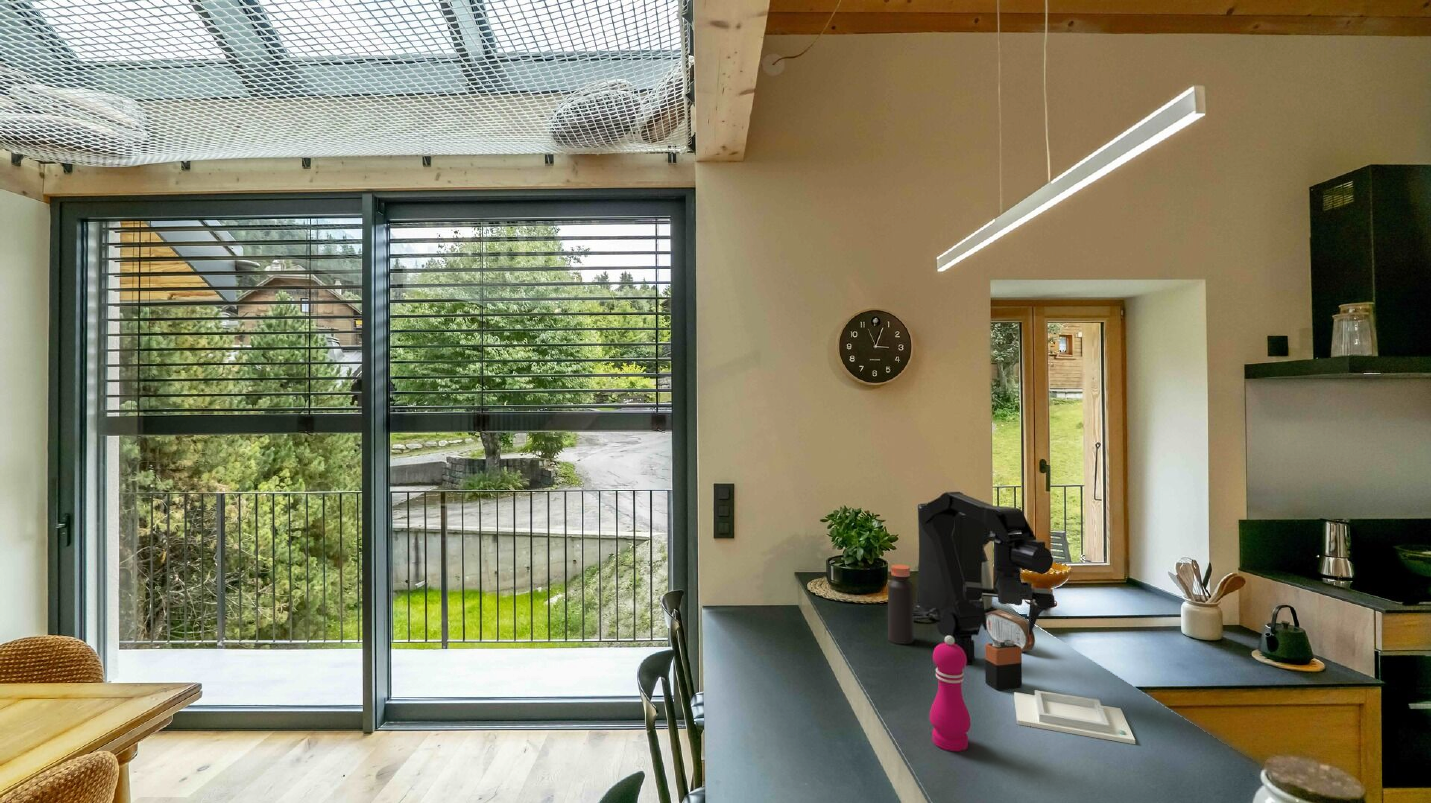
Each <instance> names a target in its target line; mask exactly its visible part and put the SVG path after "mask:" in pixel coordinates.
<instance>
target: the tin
mask: <svg viewBox="0 0 1431 803" xmlns="http://www.w3.org/2000/svg"><path fill="white" fill-rule="evenodd" d="M986 624H987V630H986V632H987V634H988V636H989V637H990V638H991V639H992V640H993V642H1004V640H1006V639H1009V640H1013V641H1014V643H1013V644H1015V645H1017V646H1019V647H1021V649H1022V652H1028V651H1031V650H1032V649H1033V648H1034V647H1035V643H1036V637H1035V633H1034V629H1033V630H1032V633H1031V635H1029V634H1028V621H1026V620H1025V619H1023V618H1021V617H1019V616H1016V615H1014V614H1011V613H1008V612H1006V611H1004V610H1001V609H998V610H996V611H992V612H989V613H988V614H987V615H986Z"/></svg>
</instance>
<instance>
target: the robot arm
mask: <svg viewBox="0 0 1431 803" xmlns="http://www.w3.org/2000/svg"><path fill="white" fill-rule="evenodd" d="M927 503H928V502H927ZM960 512H961V513H963V514H966V515H968V516H970V517H973V518H975V519H978V520H980V521H982V522H983V523H984V526H985V527H986V528H987V529H989V530H990V531H992V534H991V535H989V536H988V537H987V540H989V541H990V542H993V543H992V544H993V553H992V554H993V587H992V588H982V586H981V583H974V582H965V583H964V579H963V575H962V572H961V568H960V564H959V561H958V557H957V553H956V550H955V546H954V542H953V539H952V534H953V531H954V527H955V522H954V518H955V517H956V516H958V515H959V513H960ZM919 519H920V522H921V524H922V527H923V530H924V531H925V532H926V534H927V535H928V536H929V537H930V538H931V539H932V541H933V544H934V548H935V551H936V555H937V559H938V563H939V567H940V571H941V574H942V578H943V582H944V586H945V590H946V594H947V598H946V602H945V605H944V613H945V617H944V618H943V619H942V620H941V621H939V622H938V623H937V624H936V625H937V630H938V631H937V632H938V633H939V634H941V635H942V636H944V638H945V637H946V636H952V637H953V638H954V641H955V642H954V644H956V645H958V646H959V647H961V648H962V649H963V651H964V652H965V654H966V658H967V664H966V665H973V661H974V660H975V653H976V652H975V640H974V639H973V636H979V634H980V630H981V627H982V625H983V629H984V630H985V631H987V624H986V617H985V610H984V602H983V596H988V597H992V598H997V601H998V603H999V604H1001V605H1014V606H1022V605H1023V601H1030V602H1029V612H1028V621H1027V623H1028V634H1029V635H1031V633H1032V630H1033V631H1034V627H1035V625H1036V623H1037V620H1038V618H1039V616H1040V614H1041V613H1042V612H1043V611H1048V610H1049V608H1055V607H1056V604H1055V602H1056V601H1055V600H1056V599H1055V595H1054V594H1053V592H1052V591H1051V590H1050V589H1049V588H1042V587H1041V588H1040V587H1033V585H1032V582H1028V581H1022V569H1023V570H1025V571H1030V572H1033V573H1035V574H1036V573H1037V574H1039V575H1045V574H1047V573H1048V572H1049V571H1051V569H1052V567H1053V564H1054V557H1053V555H1052V552H1051V551H1050V550H1049V548H1047V547H1046V542H1045V541H1044V540H1043V541H1042V540H1036V539H1037V537H1036V536H1035V534H1034V531H1033V530H1032V528H1031V526H1030V524H1029V522H1028V520H1027V518H1026V516H1025V515H1024V511H1022V509H1020V508H1018V507H1011V506H1003V505H1002V506H1001V505H1000V506H999V505H992V504H990V503H988V502H984V501H982V500H980V499H977V498H975V497H971V496H969V495H966V494H964V493H963V492H960V491H946V492H944V493H942V494H941V495H940V496H939V497H937V498H935V499H933V500H932V501H930V503H928V504H927V505H925V506H923V507H922V509H921V511H920V512H919Z"/></svg>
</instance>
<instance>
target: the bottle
mask: <svg viewBox="0 0 1431 803" xmlns="http://www.w3.org/2000/svg"><path fill="white" fill-rule="evenodd" d="M890 568H891V570H890V571H891V572H890V573H891V574H890V575H891V577H892V580H890V581H889V582H888V584H887V639H888V641H889V642H890V643H893V644H897V645H911V644H912V643H914V641H915V639H914V638H915V637H914V636H915V628H914V627H915V624H914V622H915V619H914V616H915V615H914V612H915V610H914V608H915V606H914V602H915V599H914V597H915V596H914V595H915V594H914V593H915V592H914V590H915V589H914V585H913V584H912V582H911V581H910V578H911V568H910V566H908V565H905V564H893V565H891V567H890Z"/></svg>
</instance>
